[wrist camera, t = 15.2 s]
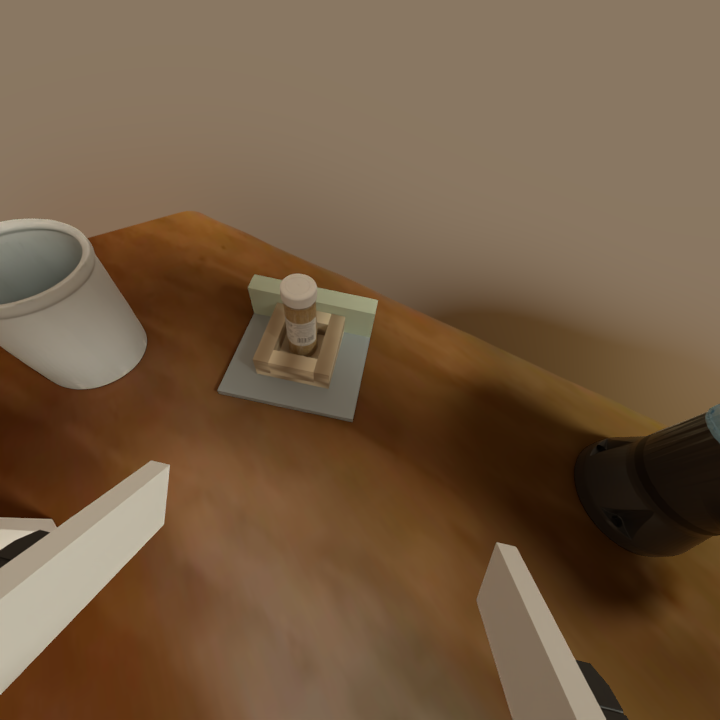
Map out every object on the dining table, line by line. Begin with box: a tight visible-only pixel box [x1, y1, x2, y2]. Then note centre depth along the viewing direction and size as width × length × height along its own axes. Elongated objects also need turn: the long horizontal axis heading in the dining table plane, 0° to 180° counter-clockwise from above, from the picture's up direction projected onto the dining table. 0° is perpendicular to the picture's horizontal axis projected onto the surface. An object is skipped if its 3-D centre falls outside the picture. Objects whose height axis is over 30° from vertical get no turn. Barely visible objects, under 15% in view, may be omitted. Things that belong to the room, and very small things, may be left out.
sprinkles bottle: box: [280, 274, 318, 357], centre depth 46 cm, size 5×5×14 cm
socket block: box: [253, 302, 345, 389], centre depth 51 cm, size 11×11×4 cm
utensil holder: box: [0, 219, 147, 389], centre depth 43 cm, size 15×15×18 cm
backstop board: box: [217, 274, 378, 422], centre depth 50 cm, size 20×18×7 cm
